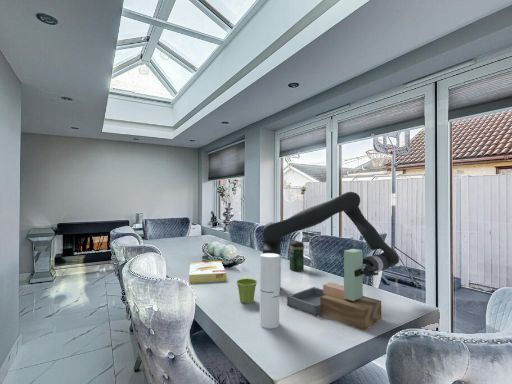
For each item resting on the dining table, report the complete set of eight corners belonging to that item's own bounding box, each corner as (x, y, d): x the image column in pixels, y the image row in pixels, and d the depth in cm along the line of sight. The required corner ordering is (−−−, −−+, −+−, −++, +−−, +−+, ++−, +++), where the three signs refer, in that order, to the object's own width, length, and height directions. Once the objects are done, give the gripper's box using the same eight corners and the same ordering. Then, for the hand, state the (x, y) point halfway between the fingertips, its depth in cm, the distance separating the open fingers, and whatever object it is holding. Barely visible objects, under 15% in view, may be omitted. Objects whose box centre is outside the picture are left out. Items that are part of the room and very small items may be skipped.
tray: (316, 316, 109) (316, 306, 109) (287, 305, 120) (287, 296, 120) (342, 304, 122) (342, 295, 122) (313, 295, 133) (313, 286, 133)
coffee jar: (305, 271, 177) (305, 241, 177) (294, 272, 174) (294, 242, 175) (298, 267, 186) (299, 239, 186) (287, 268, 184) (288, 239, 184)
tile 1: (333, 296, 111) (333, 287, 111) (323, 293, 115) (323, 284, 115) (340, 293, 115) (340, 285, 115) (329, 290, 118) (329, 282, 118)
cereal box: (221, 260, 182) (226, 271, 154) (221, 268, 182) (226, 281, 154) (189, 262, 177) (188, 274, 150) (189, 271, 177) (189, 284, 150)
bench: (364, 331, 97) (364, 310, 97) (320, 314, 110) (320, 296, 111) (381, 319, 107) (381, 300, 107) (339, 305, 120) (339, 289, 120)
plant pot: (241, 306, 118) (241, 285, 118) (232, 299, 127) (233, 280, 127) (260, 302, 123) (261, 282, 123) (251, 296, 131) (251, 277, 131)
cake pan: (202, 268, 182) (202, 261, 182) (199, 260, 206) (199, 254, 206) (239, 266, 189) (239, 259, 189) (231, 258, 213) (231, 252, 213)
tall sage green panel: (353, 301, 104) (353, 252, 104) (343, 298, 107) (343, 250, 107) (362, 296, 109) (362, 250, 109) (353, 294, 112) (352, 248, 112)
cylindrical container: (258, 320, 105) (259, 253, 106) (277, 319, 106) (278, 253, 106) (260, 328, 98) (261, 257, 99) (280, 328, 99) (281, 257, 99)
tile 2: (345, 300, 107) (345, 290, 108) (333, 296, 111) (333, 287, 111) (351, 297, 111) (351, 288, 111) (340, 293, 115) (340, 285, 115)
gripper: (354, 253, 123) (333, 259, 111) (387, 259, 112) (367, 266, 101) (354, 271, 123) (333, 278, 111) (387, 278, 112) (367, 287, 101)
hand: (349, 272), depth 106 cm, fingers closed on tall sage green panel, 4 cm apart
